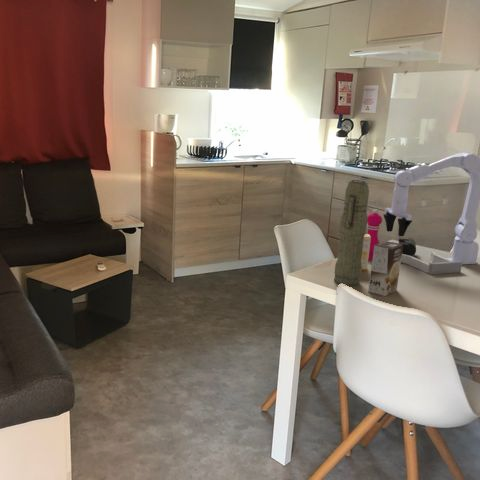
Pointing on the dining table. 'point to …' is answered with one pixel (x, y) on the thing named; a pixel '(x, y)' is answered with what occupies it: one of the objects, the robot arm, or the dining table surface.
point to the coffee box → (385, 268)
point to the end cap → (408, 246)
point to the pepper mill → (373, 230)
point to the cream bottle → (365, 251)
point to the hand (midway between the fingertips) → (395, 233)
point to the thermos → (352, 233)
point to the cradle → (433, 264)
